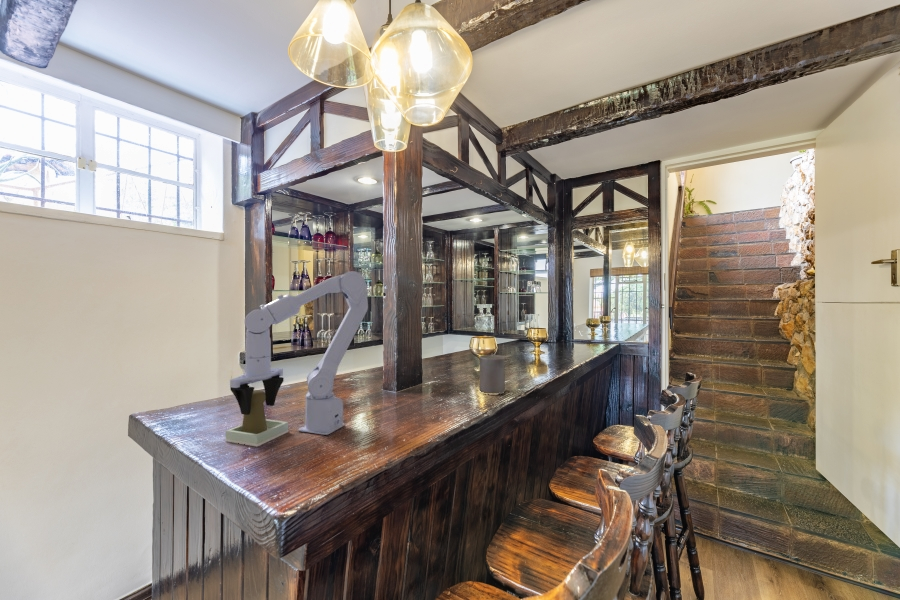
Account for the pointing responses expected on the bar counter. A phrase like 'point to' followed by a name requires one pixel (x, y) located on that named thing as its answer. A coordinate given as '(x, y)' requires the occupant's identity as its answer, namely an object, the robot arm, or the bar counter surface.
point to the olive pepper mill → (255, 414)
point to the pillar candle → (492, 373)
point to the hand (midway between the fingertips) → (258, 409)
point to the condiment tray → (256, 440)
